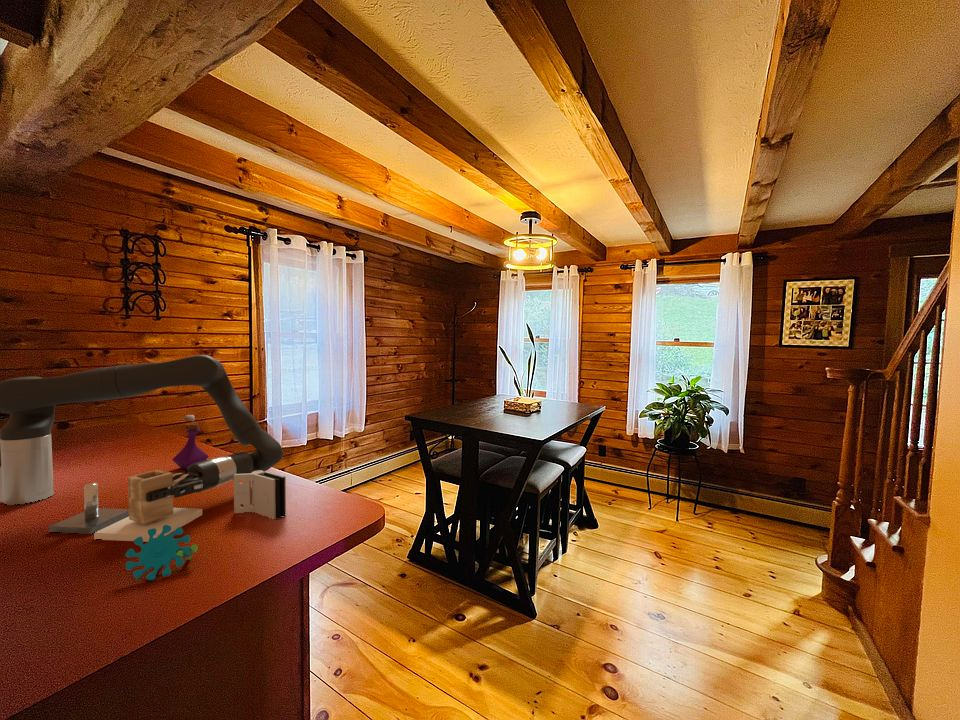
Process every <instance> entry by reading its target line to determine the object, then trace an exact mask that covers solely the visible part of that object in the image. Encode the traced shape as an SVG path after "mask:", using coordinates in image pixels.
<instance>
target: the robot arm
mask: <svg viewBox="0 0 960 720" xmlns="http://www.w3.org/2000/svg"><path fill="white" fill-rule="evenodd" d="M224 367H225V366H224V365H223V363H222V362H221V361H219V360H218V359H216V358H215V357H212V356H210V355H205V354H199V355H198V354H197V355H192V356H187V357H182V358H178V359H173V360H168V361H167V360H166V361H162V362H161V361H160V362H148V363H146V362H145V363H134V364H124V365H123V364H121V365H115V366H114V365H113V366H107V367H105V366H104V367H100V368H99V367H98V368H92V369H88V370H83V371H78V372H74V373H70V374H69V373H68V374H65V375H61V376H59V375H58V376H52V377H41V376H37V375H36V376H33V375H31V376H30V375H29V376H20V377H13V378H9V379H8V378H7V379H5V380H2V381H0V412H2V413H9V414H10V416H9V419H8V421H7V422H6V424H4V425H3V426H2V427H1V429H0V463H1V466H0V501H1V502H0V503H2V504H3V503H4V504H7V505H6V506H16V505H17V504H20V505H26V504H25V503H27V504H30V502H32V503H36V502H39V501H38V500H40V501H43V500H46V499H49V498H51V497H53V495H54V473H53V471H54V469H53V468H54V467H53V449H52V447H53V444H52V427H53V425H54V422H55V420H56V419H55V418H56V417H55V416H56V413H55V412H56V405H61V404H71V403H72V404H74V403H89V402H90V403H91V402H101V401H109V400H119V399H124V398H125V399H126V398H132V397H136V396H141V395H145V394H147V393H151V392H153V391H156V390H161V389H164V388H169V387H170V388H171V387H182V386H183V387H185V386H194V387H195V386H196V387H200V388H201V389H203V390H204V391H205V392H206V393H207V394H208V395H209V396H210V397H211V399H212V400H213V401H214V403H215V405H217V407H218V409H219V411H220V413H221V416H222V418H223V420H224V422H225V424H226V426H227V427H228V429H229V431H230V432H231V433H232V435H233V436H234V438H235V439H236V440H237V442H239V444H240V445H241V446H245V447H246V446H252V447H254V448H255V450H254V451H251V452H246V451H243V452H242V451H241V452H235V453H232V454H229V455H224V456H217V457H214V458H210V459H206V460H205V461H202V462H198V463H194V464H191V465H190V466H189V467H188V468H187V469H185V472H177V473H173V474H172V485H169V486H167V487H166V488H165V487H164V488H160V489H157V490H153V491H150V492H148V493H147V494H146V501H147V502H151V501H155V500H158V499H161V498H164V497H172V496H173V499H174V498H175V499H178V498H181V497H184V496H188V495H191V494H195V493H196V494H197V493H202V492H204V491H208V490H211V489H213V488H216V487H219V486H223V485H225V484H227V483H229V482H232V481H234V474H248V473H252V472H254V471H258V470H262V471H264V472H266V471H268V470H270V469H272V468H273V467H274V466H276V465H277V464H278V463H279V462H281V461H282V460H283V457H284V450H283V447H282V445H281V444H280V442H278V441H277V440H276V439H275V438H274V437H273V436H272V435H270V434H269V433H268V432H266V431H265V430H264V429H263V428H262V427H261V426H260V424H259V423H258V421H257V420H256V418H255V417H254V416H253V414H252V412H250V410H249V409H248V407H247V406H246V405H245V403H244V402H243V401H242V399H241V398H240V397H239V395H238V394H237V392H236V390H235V388H234V387H233V384H232V383H231V381H230V377H229V376H228V374H227V372H226V369H225V368H224ZM50 496H51V497H50ZM48 497H49V498H48ZM42 499H43V500H42ZM35 501H36V502H35ZM4 504H3V505H4ZM15 504H16V505H15Z"/></svg>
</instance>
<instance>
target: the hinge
mask: <svg viewBox="0 0 960 720" xmlns="http://www.w3.org/2000/svg"><path fill="white" fill-rule="evenodd" d="M286 476H287V475H283V474H280V473H276V472H273V471H272V472H271V471H268V470H267V471H262V470H258V471H254V472H252V473H248V474H234V480H233V504H234V505H233V506H234V507H233V508H234V509H233V513H234V514H245V513H244V512H252V513H254V512H255V513H254V514H256V513H258V514H257V515H259V514H261V515H260V516H262V515H264V516H267V517H270V518H272V519H271V520H273V519H274V518H280V519H281V517H280V516H285V517H286V515H287V486H286V485H287V482H286V481H287V480H286V479H287V477H286ZM241 481H242V482H241ZM241 505H242V506H241ZM285 514H286V515H285ZM264 516H263V517H264ZM267 517H266V518H267ZM270 518H269V519H270ZM274 520H275V519H274Z"/></svg>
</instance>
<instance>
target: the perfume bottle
mask: <svg viewBox="0 0 960 720" xmlns="http://www.w3.org/2000/svg"><path fill="white" fill-rule="evenodd" d="M195 419H196V417H195V415H194V414H187V415H184V416H183V420H184V421H185V422H186V421H187V420H190V421H191V422H192V424H191V423H190V424H188V425H187V427H188V428H187V429H186V430H185V433H188V439H187V441H186V443H185V445H184V447H182V449H181V450H180V451H179V452H178V453H177V454H176V455H175V456H174V457H173V458H172V459H171V460H172V462H174V463H175V465H177V466H178V467H179V468H180V469H183V470H187V468H188V467H189V466H190V465H191V464H194V463H198V462H202V461H205V460H208V458H210V457H209V456H210V455H209V454H207V453H206V452H205V451H203V450H202V449H201V448H200V447H198V445H197V444H196V436H197V434H199V432H201V431H202V429H201V428H199V427H200V425H199V423H195V422H194V421H195Z"/></svg>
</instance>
